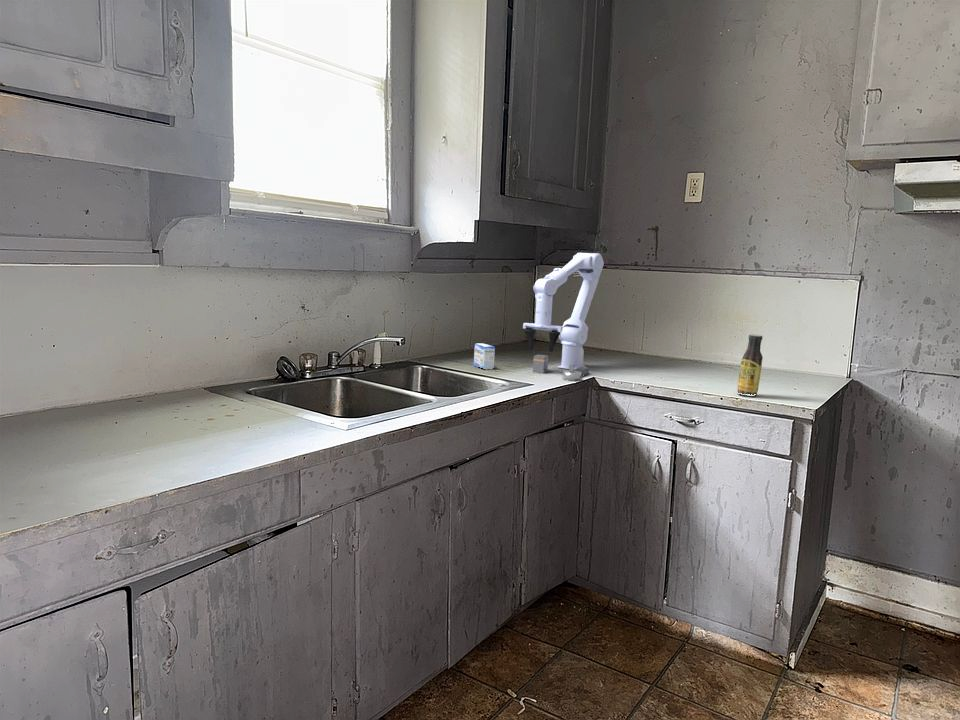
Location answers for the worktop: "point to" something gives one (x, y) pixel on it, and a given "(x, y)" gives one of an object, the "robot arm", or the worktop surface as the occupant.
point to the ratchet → (574, 373)
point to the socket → (540, 363)
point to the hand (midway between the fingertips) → (541, 350)
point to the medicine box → (484, 356)
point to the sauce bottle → (751, 367)
